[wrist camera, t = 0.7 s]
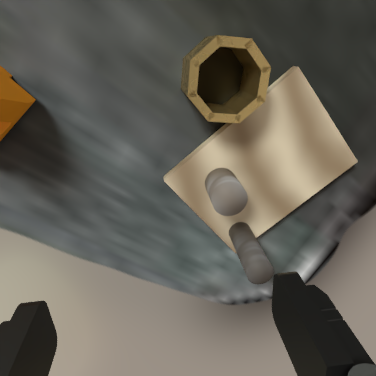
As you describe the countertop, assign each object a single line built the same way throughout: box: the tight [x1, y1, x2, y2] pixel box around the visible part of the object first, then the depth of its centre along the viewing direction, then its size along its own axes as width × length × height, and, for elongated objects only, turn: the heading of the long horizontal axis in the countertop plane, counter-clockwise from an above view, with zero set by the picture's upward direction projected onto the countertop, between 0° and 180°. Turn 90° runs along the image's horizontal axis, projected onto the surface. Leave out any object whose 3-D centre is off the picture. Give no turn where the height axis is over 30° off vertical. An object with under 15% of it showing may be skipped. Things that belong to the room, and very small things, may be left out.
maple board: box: [163, 66, 358, 284], centre depth 29 cm, size 16×12×8 cm
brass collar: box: [181, 35, 271, 123], centre depth 26 cm, size 6×6×5 cm
